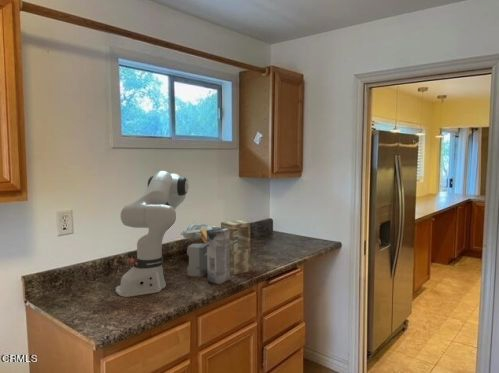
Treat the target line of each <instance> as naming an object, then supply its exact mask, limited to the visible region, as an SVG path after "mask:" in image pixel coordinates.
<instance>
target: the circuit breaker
mask: <svg viewBox="0 0 499 373" xmlns="http://www.w3.org/2000/svg"><path fill="white" fill-rule="evenodd" d="M186 255H187V256H188V266H187V270H186V271H187V276H189V277H204V276H205V275H207V244H205V243H191V244H190V245H188V246H187V249H186Z"/></svg>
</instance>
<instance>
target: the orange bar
mask: <svg viewBox="0 0 499 373" xmlns="http://www.w3.org/2000/svg"><path fill="white" fill-rule="evenodd" d="M206 231H207V229H202V230H200V234H203V237H200V238H201V240H202V241H203V244H207V233H206Z"/></svg>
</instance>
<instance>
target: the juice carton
mask: <svg viewBox="0 0 499 373" xmlns="http://www.w3.org/2000/svg"><path fill="white" fill-rule="evenodd" d="M211 227H212V229H211V230H207V231H206V233H207V273H206V275H207V282H208V283H211V284H214V285H221V284H223V283H225V282H227V281H230V277H231V275H230V247H229V233H230V229H227V228H221V227H218V225H214V226H211Z"/></svg>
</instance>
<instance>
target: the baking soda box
mask: <svg viewBox="0 0 499 373" xmlns="http://www.w3.org/2000/svg"><path fill="white" fill-rule="evenodd" d="M237 250H238V231H237V228H234V251H237Z"/></svg>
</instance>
